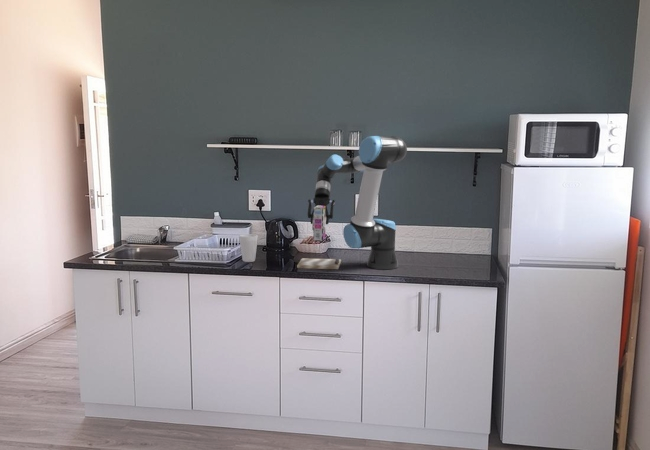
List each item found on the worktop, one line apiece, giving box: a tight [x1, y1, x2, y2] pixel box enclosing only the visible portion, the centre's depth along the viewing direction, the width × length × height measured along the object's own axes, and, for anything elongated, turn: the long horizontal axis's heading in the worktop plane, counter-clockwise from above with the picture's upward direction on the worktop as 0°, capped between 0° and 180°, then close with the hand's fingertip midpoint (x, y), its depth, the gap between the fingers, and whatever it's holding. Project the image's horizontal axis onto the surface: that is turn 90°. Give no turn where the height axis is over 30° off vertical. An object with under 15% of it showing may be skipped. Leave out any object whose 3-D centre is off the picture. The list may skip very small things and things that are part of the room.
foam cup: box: [238, 233, 259, 263], centre depth 277 cm, size 10×9×13 cm
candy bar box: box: [312, 205, 326, 242], centre depth 266 cm, size 11×5×16 cm, turn 173°
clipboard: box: [296, 257, 342, 270], centre depth 269 cm, size 20×17×2 cm
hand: (318, 228), depth 263 cm, fingers closed on candy bar box, 5 cm apart
